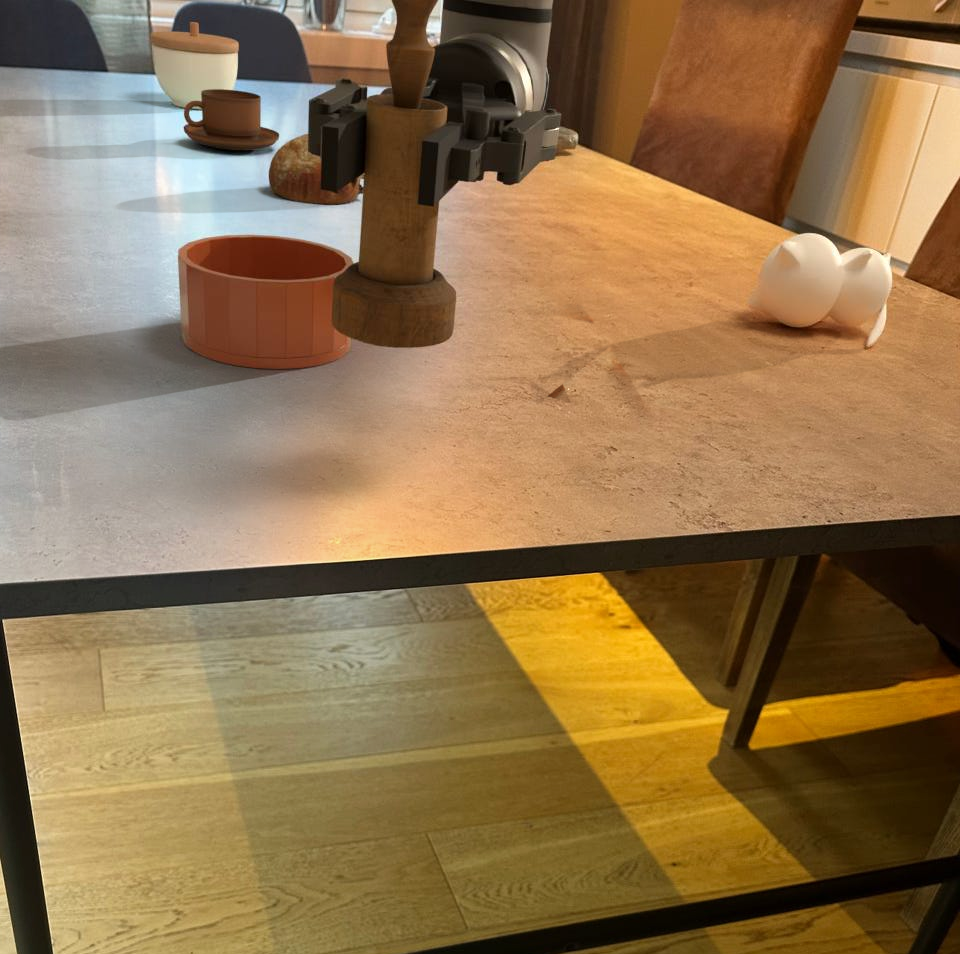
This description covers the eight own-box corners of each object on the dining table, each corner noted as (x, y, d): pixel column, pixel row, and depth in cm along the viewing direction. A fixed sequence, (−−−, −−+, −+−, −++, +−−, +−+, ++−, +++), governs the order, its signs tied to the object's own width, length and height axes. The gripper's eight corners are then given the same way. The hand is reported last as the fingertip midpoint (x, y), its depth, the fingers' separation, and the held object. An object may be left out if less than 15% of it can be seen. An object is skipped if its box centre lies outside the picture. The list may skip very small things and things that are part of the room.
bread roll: (311, 214, 129) (285, 144, 126) (384, 189, 124) (360, 115, 121) (270, 230, 121) (242, 155, 118) (347, 203, 116) (320, 124, 113)
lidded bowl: (244, 104, 170) (243, 23, 164) (234, 116, 160) (232, 31, 154) (162, 95, 169) (157, 14, 163) (146, 107, 158) (141, 21, 152)
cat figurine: (904, 219, 95) (776, 204, 93) (929, 316, 91) (796, 302, 88) (854, 288, 103) (735, 276, 100) (875, 380, 98) (752, 369, 96)
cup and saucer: (228, 159, 133) (227, 104, 130) (164, 141, 139) (161, 87, 135) (298, 152, 142) (299, 100, 138) (235, 135, 147) (234, 84, 144)
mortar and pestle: (410, 358, 55) (441, -64, 45) (306, 327, 57) (313, -81, 47) (474, 329, 60) (514, -56, 50) (376, 301, 62) (396, -72, 52)
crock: (146, 342, 77) (140, 256, 74) (245, 304, 87) (244, 226, 83) (293, 382, 74) (294, 293, 70) (379, 337, 83) (384, 257, 80)
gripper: (588, 188, 70) (551, 279, 50) (334, 150, 71) (201, 225, 52) (609, 57, 66) (576, 101, 46) (338, 19, 67) (195, 47, 48)
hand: (378, 166), depth 49 cm, fingers closed on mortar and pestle, 4 cm apart
